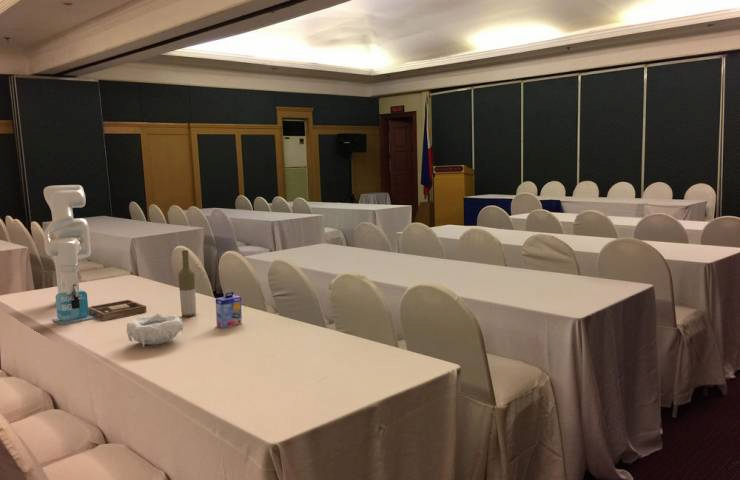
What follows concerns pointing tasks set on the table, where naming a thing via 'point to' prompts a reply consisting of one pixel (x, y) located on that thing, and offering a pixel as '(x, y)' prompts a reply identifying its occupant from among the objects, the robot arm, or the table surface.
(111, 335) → the table surface
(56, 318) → the mat
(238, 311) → the ink cartridge box
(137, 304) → the rack
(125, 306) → the offcut stack
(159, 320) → the bowl
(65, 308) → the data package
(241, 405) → the table surface
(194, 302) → the bottle
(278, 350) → the table surface
